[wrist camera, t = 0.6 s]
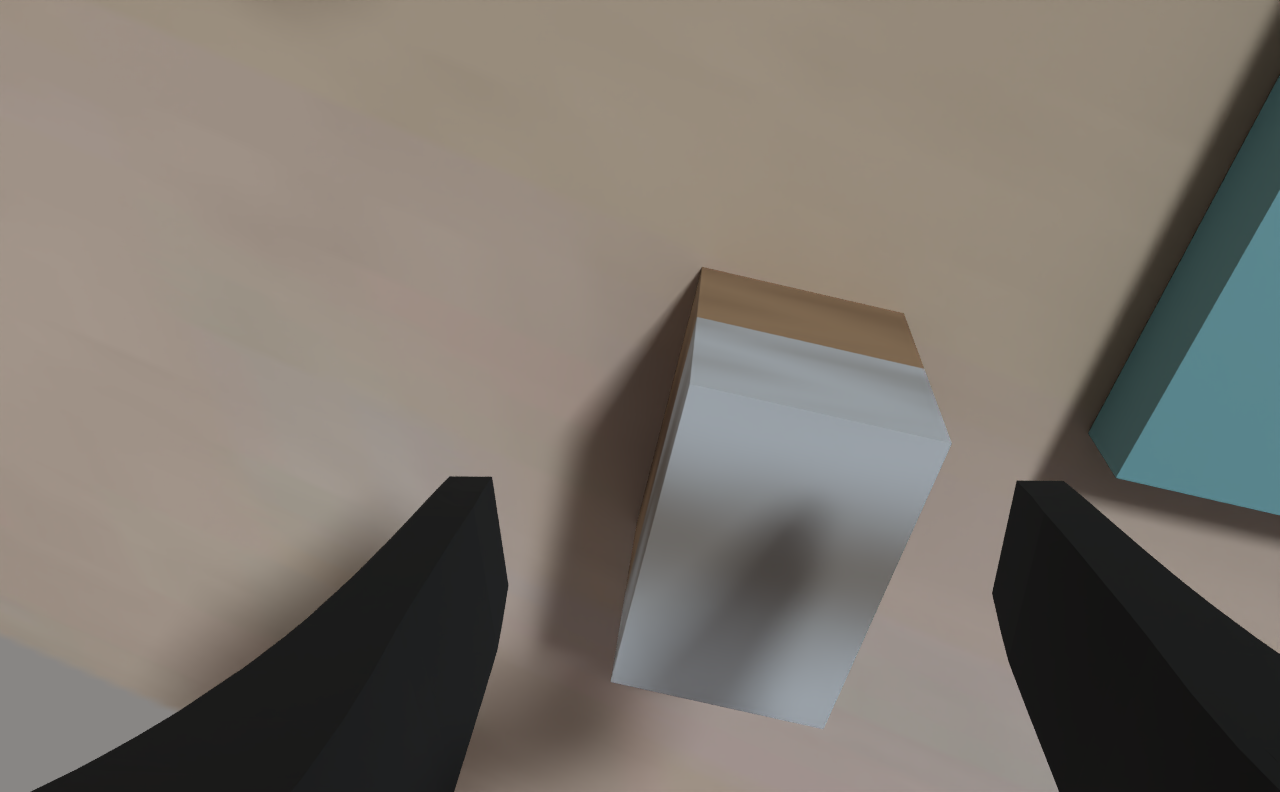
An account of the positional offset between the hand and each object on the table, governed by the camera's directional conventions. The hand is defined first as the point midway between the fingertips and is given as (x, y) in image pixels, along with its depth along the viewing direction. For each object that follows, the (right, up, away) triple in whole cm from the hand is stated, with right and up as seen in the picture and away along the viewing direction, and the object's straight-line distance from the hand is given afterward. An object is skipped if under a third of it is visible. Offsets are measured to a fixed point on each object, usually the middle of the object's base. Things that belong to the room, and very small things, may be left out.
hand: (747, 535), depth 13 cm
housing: (+2, +1, +11) cm, 12 cm away
